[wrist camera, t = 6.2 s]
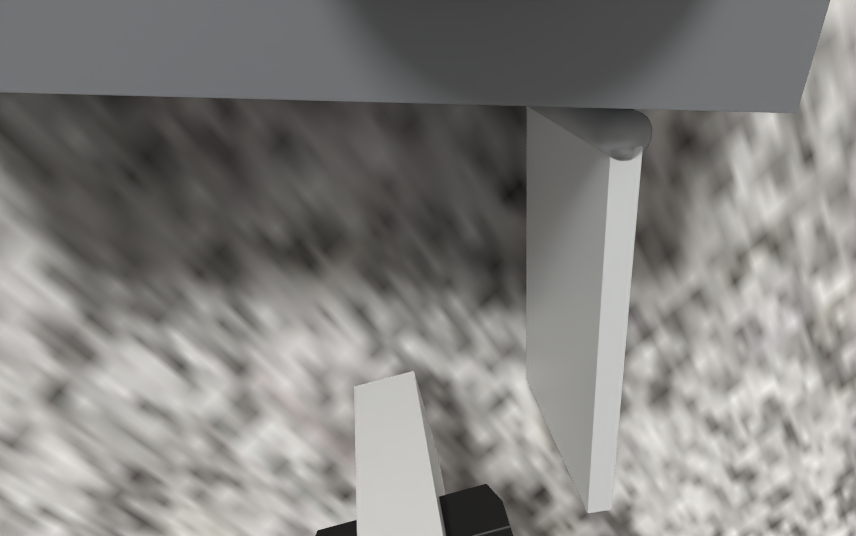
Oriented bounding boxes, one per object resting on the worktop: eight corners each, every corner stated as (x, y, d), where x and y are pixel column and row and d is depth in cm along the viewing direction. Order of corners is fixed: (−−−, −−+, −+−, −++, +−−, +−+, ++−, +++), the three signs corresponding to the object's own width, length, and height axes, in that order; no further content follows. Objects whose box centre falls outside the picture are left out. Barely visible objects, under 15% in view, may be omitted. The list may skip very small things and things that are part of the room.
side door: (548, 376, 19) (617, 508, 14) (521, 379, 19) (581, 514, 14) (555, 73, 15) (653, 108, 10) (520, 76, 15) (604, 112, 10)
